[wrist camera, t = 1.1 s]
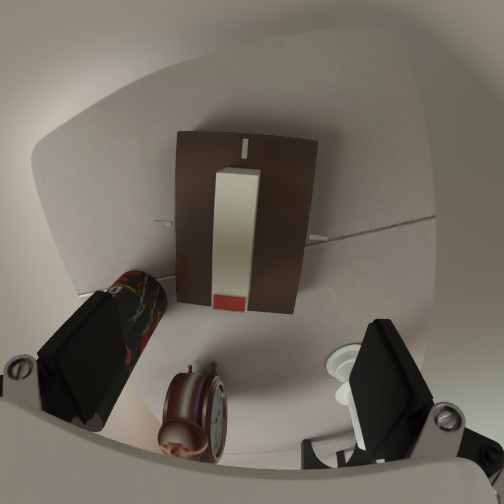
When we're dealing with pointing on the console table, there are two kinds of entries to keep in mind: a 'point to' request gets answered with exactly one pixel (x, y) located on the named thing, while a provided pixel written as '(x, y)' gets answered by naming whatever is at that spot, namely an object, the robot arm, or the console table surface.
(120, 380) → the deodorant
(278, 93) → the console table surface
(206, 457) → the alarm clock
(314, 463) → the planter
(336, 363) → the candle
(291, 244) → the panel
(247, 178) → the dial
